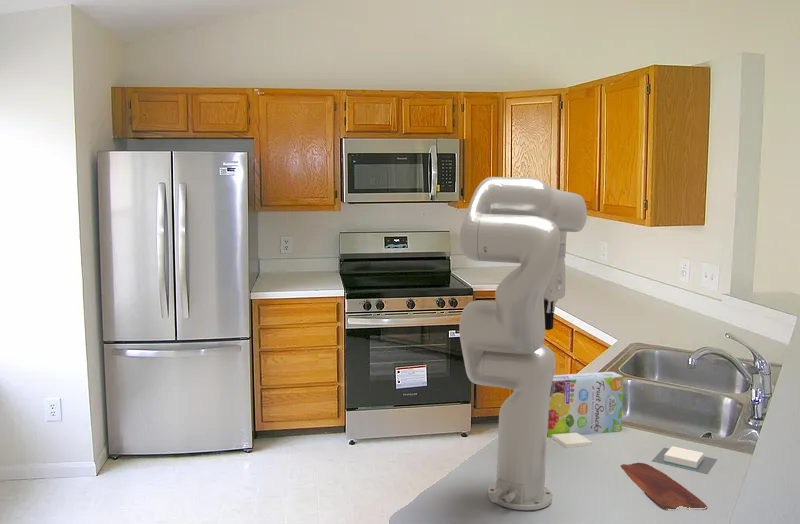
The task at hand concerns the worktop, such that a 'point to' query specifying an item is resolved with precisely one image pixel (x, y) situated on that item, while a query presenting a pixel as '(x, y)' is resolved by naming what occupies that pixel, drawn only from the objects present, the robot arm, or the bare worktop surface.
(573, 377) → the snack box
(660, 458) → the mat
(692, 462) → the tile
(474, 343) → the robot arm
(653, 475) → the wooden tablet
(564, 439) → the tile
